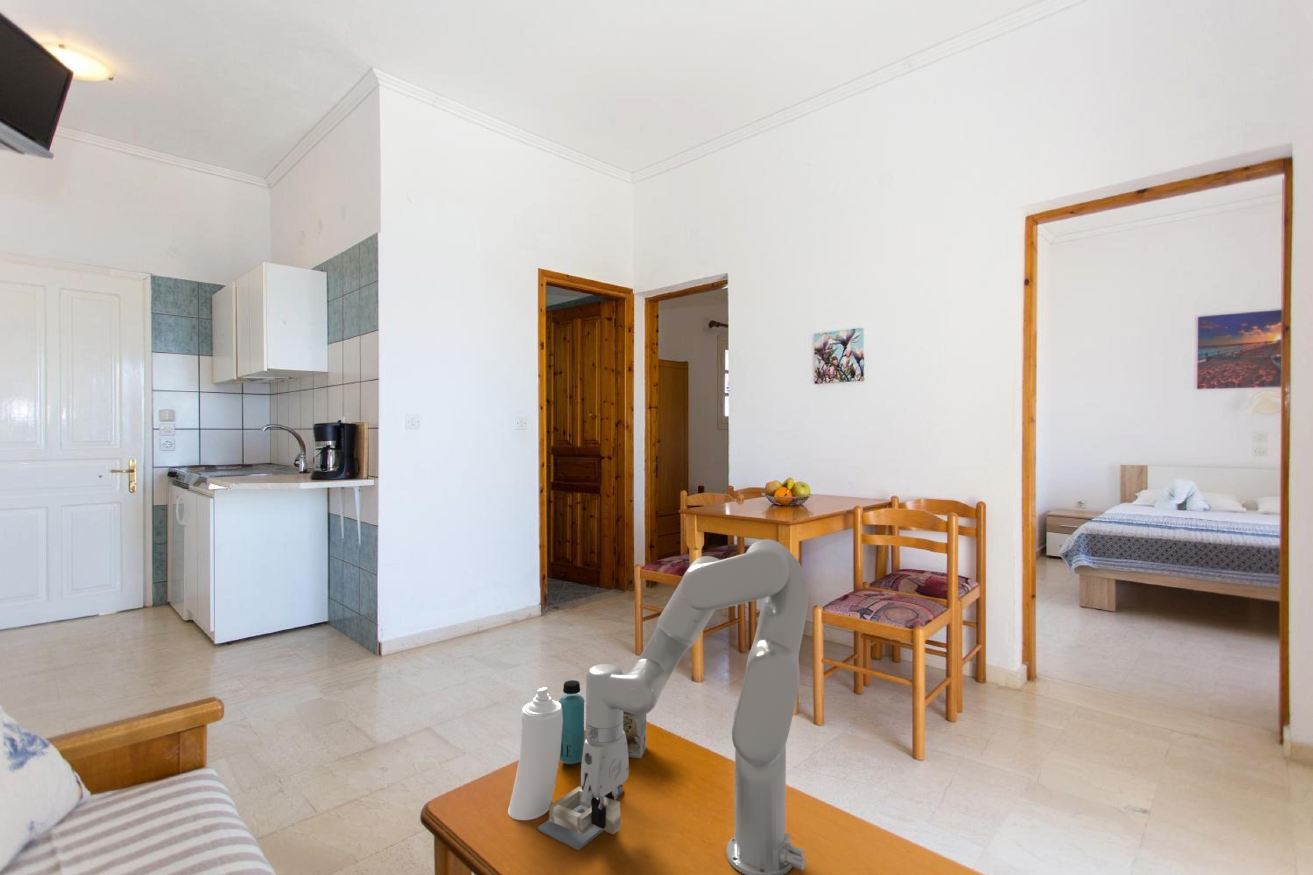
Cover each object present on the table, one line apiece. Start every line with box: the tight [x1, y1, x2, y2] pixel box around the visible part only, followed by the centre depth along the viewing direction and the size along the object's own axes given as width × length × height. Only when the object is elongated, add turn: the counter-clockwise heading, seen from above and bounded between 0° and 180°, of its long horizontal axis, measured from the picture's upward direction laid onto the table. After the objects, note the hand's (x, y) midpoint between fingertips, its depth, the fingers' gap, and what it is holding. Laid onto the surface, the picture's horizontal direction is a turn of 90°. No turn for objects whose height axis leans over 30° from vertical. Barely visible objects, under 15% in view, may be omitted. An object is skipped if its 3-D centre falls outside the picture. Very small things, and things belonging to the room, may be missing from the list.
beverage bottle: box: [558, 680, 586, 765], centre depth 155 cm, size 6×7×20 cm
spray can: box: [507, 687, 563, 821], centre depth 138 cm, size 12×11×25 cm
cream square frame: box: [548, 785, 622, 835], centre depth 129 cm, size 14×9×5 cm, turn 55°
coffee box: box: [623, 711, 647, 759], centre depth 162 cm, size 9×6×16 cm
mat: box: [537, 805, 604, 851], centre depth 131 cm, size 11×12×1 cm
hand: (603, 820), depth 127 cm, fingers closed on cream square frame
